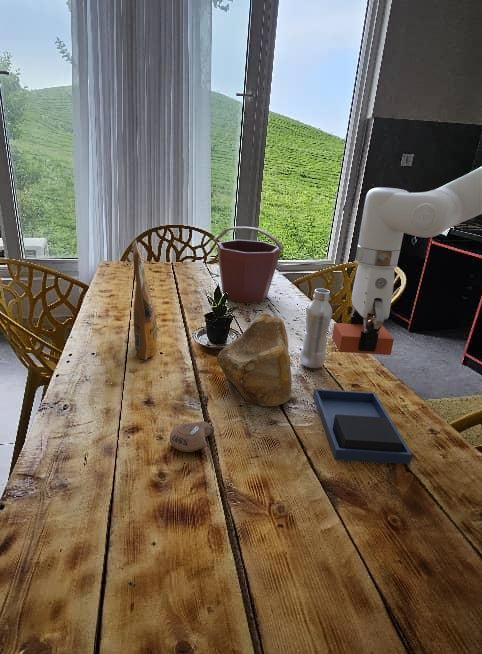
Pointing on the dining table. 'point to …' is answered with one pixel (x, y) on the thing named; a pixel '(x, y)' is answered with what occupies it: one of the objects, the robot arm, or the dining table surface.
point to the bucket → (247, 266)
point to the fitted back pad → (366, 433)
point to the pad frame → (356, 406)
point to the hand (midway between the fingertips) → (361, 341)
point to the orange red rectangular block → (349, 339)
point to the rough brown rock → (260, 362)
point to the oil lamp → (190, 436)
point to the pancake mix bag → (143, 311)
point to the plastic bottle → (316, 330)
